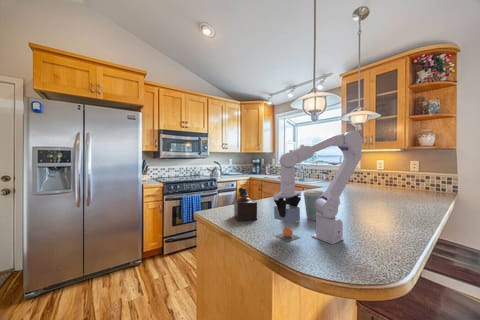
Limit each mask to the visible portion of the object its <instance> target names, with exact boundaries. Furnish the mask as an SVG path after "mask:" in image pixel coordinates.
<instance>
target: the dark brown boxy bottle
mask: <svg viewBox="0 0 480 320" xmlns="http://www.w3.org/2000/svg"><path fill="white" fill-rule="evenodd" d="M247 189H248V188H247V187H244V186H243V187H242V186H241V187H239V188H238V190H237V191H238V193H239V197H238V198H237V199H235V198H234V199H233V200H234V201H233V205H234V207H233V209H234V210H233V211H234V214H233V217H234V218H235V220H236V221H237V222H249V221H251V222H252V221H257V220H258V218H257V217H258V202H257V201H255V200H254V199H253V198H250V197H249V195H250V194H249V193H248V191H247Z"/></svg>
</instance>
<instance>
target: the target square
mask: <svg viewBox="0 0 480 320" xmlns="http://www.w3.org/2000/svg"><path fill="white" fill-rule="evenodd" d="M275 237H277V238H279V239H281V240H284V241H286V242H288V243H289V242H292V241H295V240H297V239H301V237H300V236H298V235H295V234H294V233H293V234H292V236H291V237H285V236H284V235H283V232H282V233H279V234H276V235H275Z"/></svg>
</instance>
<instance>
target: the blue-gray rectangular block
mask: <svg viewBox="0 0 480 320" xmlns="http://www.w3.org/2000/svg"><path fill="white" fill-rule="evenodd" d="M300 210H301V208H300V206H297V207H295V206H290V205H286V209H285V217H280V215H279V211H278V208H277V205H274V206H273V214H274V215H273V217H274V220H279V221H281V222H285V223H289V224H292V223H297V222H296V221H299V220H300V221H301V214H300V213H301V211H300Z"/></svg>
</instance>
